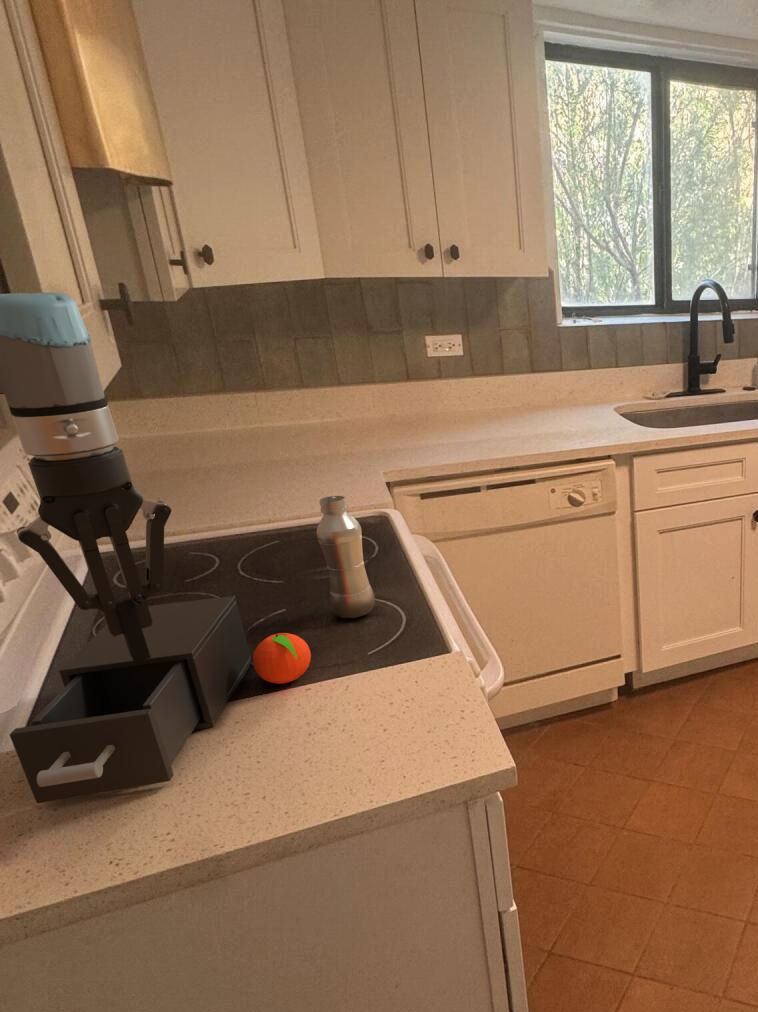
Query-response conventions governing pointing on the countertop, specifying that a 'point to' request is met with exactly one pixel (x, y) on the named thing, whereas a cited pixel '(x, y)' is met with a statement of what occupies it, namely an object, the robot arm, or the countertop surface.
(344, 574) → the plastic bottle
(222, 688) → the dark drawer cabinet
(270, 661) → the clementine
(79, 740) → the open grey drawer
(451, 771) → the countertop surface
